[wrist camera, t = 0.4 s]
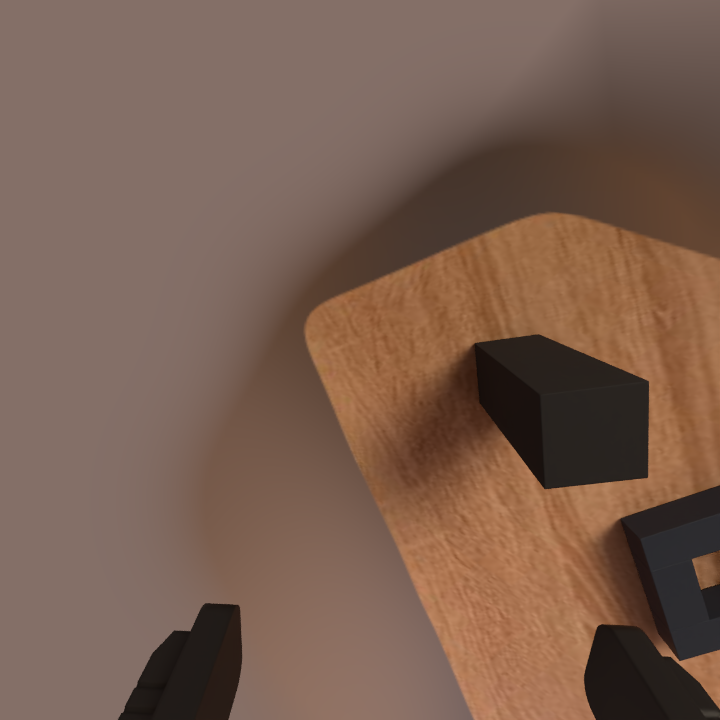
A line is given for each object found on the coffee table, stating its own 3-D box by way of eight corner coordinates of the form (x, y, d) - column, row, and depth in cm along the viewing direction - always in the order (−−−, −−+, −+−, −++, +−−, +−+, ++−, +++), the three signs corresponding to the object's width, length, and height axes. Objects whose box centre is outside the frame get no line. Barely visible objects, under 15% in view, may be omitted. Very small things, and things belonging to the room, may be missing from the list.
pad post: (474, 343, 29) (539, 394, 18) (539, 334, 29) (649, 380, 17) (479, 403, 30) (544, 489, 19) (542, 395, 30) (648, 478, 18)
